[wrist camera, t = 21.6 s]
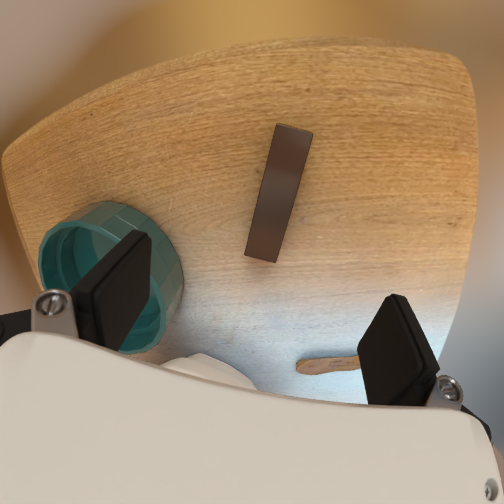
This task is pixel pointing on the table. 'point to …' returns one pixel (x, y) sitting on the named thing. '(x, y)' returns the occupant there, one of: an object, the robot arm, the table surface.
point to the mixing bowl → (97, 246)
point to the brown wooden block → (278, 191)
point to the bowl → (209, 370)
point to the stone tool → (327, 365)
